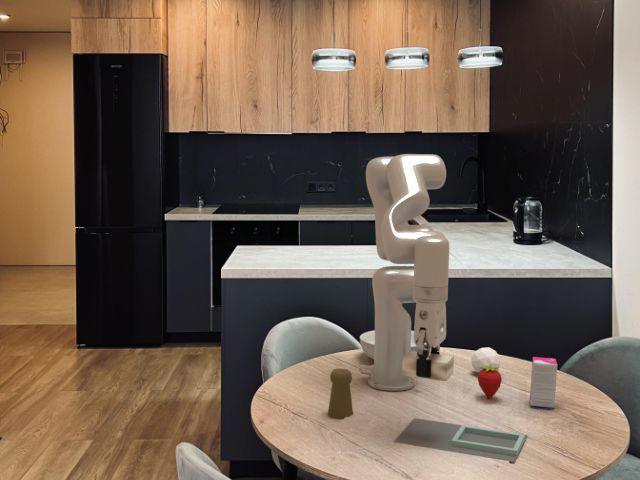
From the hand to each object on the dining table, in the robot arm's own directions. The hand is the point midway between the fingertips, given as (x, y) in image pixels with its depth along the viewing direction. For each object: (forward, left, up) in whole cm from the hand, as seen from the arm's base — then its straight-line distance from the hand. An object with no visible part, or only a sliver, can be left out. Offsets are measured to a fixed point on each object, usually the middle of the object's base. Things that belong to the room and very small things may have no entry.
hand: (427, 371), depth 188 cm
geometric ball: (+3, +50, -15) cm, 52 cm away
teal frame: (+14, 0, -14) cm, 20 cm away
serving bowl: (-24, +53, -15) cm, 60 cm away
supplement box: (+21, +31, -15) cm, 40 cm away
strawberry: (+8, +30, -15) cm, 34 cm away
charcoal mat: (+8, 0, -14) cm, 17 cm away
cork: (-22, +4, -15) cm, 27 cm away
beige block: (0, 0, -1) cm, 1 cm away
